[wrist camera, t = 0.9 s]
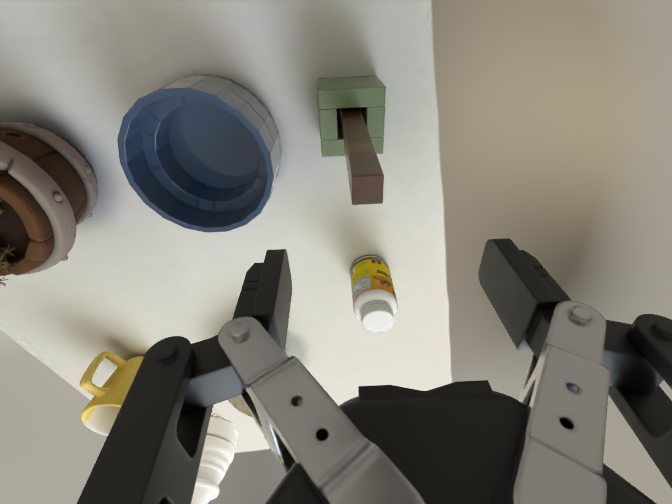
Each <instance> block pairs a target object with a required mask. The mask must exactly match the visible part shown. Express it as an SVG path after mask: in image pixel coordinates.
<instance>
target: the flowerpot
mask: <svg viewBox="0 0 672 504" xmlns="http://www.w3.org/2000/svg"><path fill="white" fill-rule="evenodd" d="M97 193H98V190H97V180H96V177H95V174H94V171H93V168H92V166H91V165H89V164H88V163H87V162H86V160H85V157H84V155H83V154H82V153H81V152H80V151H79V150H77V149H76V148H74V147H72V146H71V145H70V144H68V143H67V141H66V140H65V139H63V138H62V137H60V136H59V135H57V134H55V133H53V132H50V131H48V130H46V129H44V128H41V127H38V126H35V125H34V124H32V123H21V122H0V276H5V275H9V274H15V275H21V274H31V273H36V272H40V271H43V270H45V269H48V268H50V267H52V266H54V265H56V264H57V263H59V262H60V261H61V260H67V259H68V256H67V254H68V253H69V251H70V250H71V248H72V247H73V244H74V241H75V237H76V225H77V224H79V223H81V222H83V221H84V220H85V219H86V218H87V217H90V216H91V215H92V210H93V209H94V206H95V204H96V200H97ZM4 278H5V277H4ZM2 279H3V278H2ZM6 280H8V279H6ZM0 281H3V280H1V279H0ZM0 284H2V282H0ZM3 284H5V283H3ZM3 284H2V285H3ZM5 285H6V284H5ZM5 285H4V286H5Z"/></svg>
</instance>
